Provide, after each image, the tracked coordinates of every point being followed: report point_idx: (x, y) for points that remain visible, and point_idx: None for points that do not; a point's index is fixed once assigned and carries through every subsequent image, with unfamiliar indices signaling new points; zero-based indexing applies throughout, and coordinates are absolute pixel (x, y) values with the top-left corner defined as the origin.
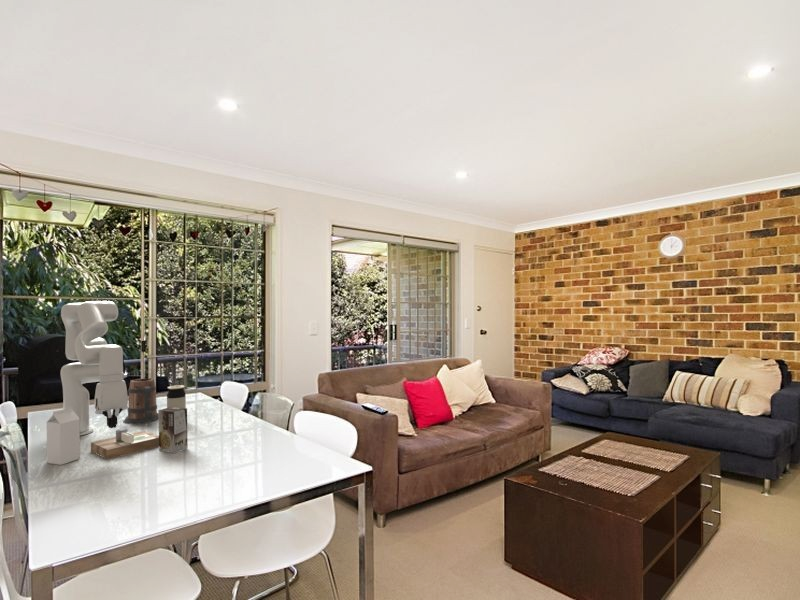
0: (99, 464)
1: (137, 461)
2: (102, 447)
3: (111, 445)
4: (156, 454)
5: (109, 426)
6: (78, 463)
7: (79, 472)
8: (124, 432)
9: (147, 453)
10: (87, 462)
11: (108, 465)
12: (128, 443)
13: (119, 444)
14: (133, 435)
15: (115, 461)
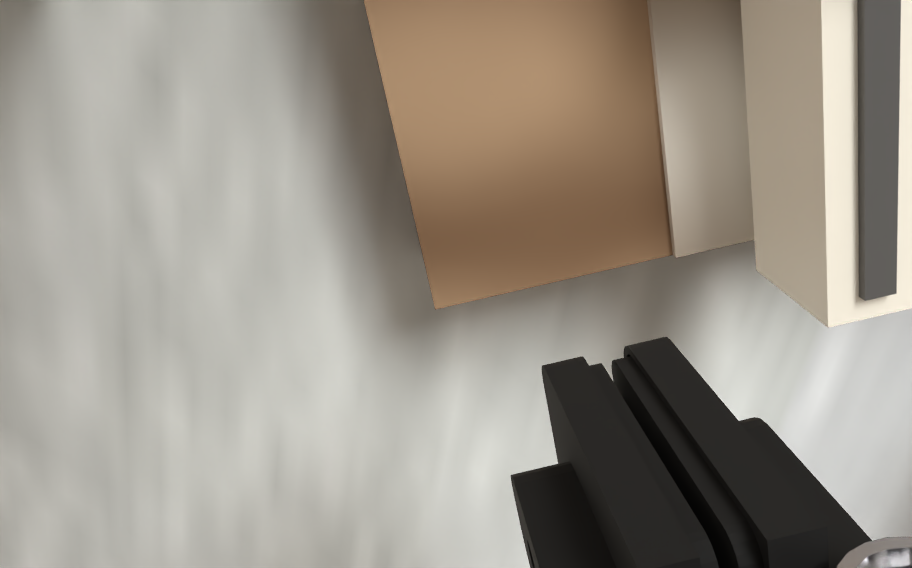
0: (310, 404)
1: None
2: (386, 98)
3: (534, 68)
4: (902, 434)
5: (561, 456)
6: (62, 180)
7: (96, 552)
8: (864, 39)
9: (856, 329)
10: (178, 217)
11: (393, 501)
12: None
13: (652, 104)
14: (904, 296)
15: (484, 405)
